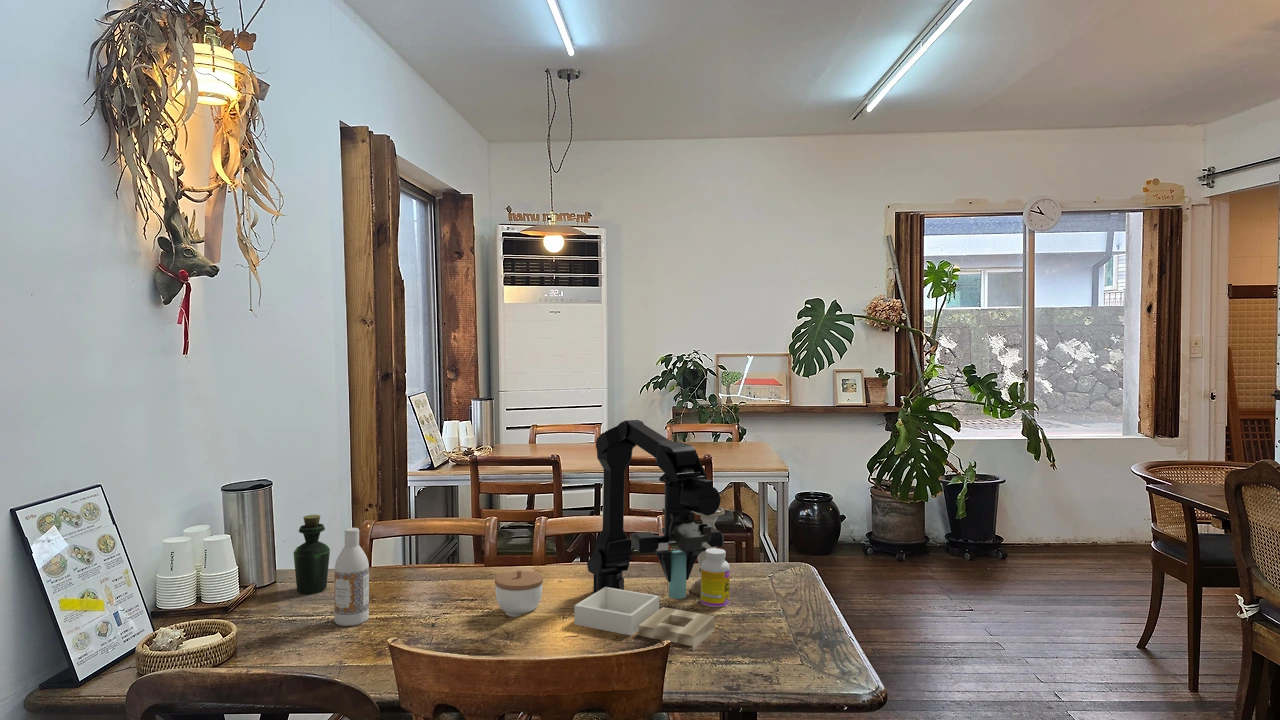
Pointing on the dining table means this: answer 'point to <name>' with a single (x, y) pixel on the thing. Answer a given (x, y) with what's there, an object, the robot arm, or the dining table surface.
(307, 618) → the dining table surface
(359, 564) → the bath foam
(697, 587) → the candle holder
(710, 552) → the supplement bottle
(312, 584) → the potion bottle
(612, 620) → the open box
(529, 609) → the lidded jar
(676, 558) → the peg
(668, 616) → the bore plate
